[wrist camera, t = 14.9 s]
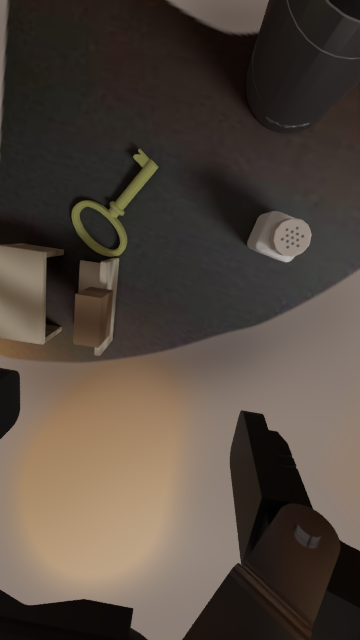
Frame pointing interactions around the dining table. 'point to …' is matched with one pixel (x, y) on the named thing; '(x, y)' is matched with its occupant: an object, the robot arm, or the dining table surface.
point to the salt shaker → (279, 236)
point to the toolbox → (25, 293)
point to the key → (115, 208)
